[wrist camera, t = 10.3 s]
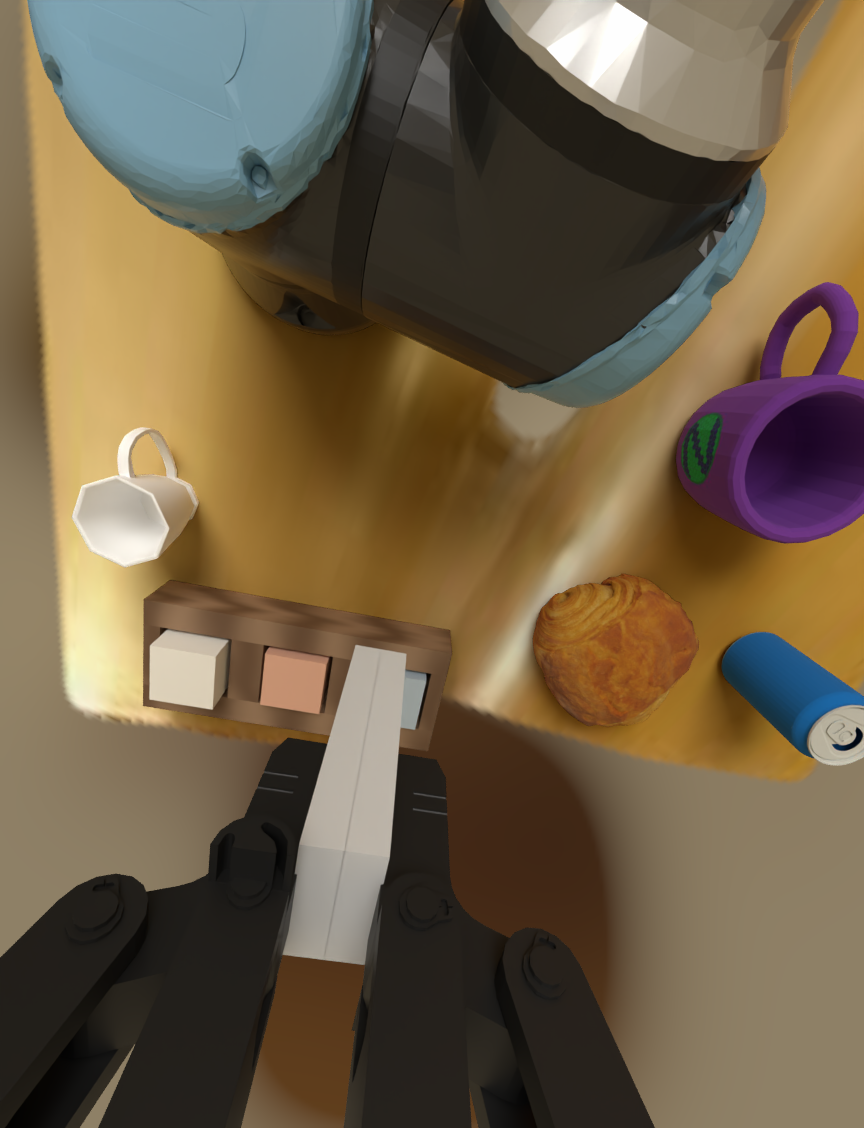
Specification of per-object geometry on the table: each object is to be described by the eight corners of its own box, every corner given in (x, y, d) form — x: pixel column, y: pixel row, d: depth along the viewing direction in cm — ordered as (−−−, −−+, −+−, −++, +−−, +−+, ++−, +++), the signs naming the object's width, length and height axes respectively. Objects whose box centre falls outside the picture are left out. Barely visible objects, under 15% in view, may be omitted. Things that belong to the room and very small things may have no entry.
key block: (167, 678, 49) (143, 705, 45) (169, 580, 46) (143, 599, 42) (428, 721, 51) (427, 751, 47) (449, 630, 48) (452, 653, 44)
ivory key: (174, 671, 46) (149, 699, 42) (175, 621, 44) (149, 645, 40) (231, 681, 47) (212, 709, 43) (235, 631, 45) (215, 656, 41)
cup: (137, 532, 44) (76, 562, 37) (127, 419, 41) (59, 426, 33) (215, 541, 45) (171, 573, 37) (212, 429, 41) (163, 439, 34)
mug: (772, 517, 44) (865, 552, 35) (649, 507, 44) (710, 539, 34) (843, 304, 38) (978, 276, 29) (702, 289, 38) (793, 256, 29)
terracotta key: (274, 677, 49) (260, 704, 44) (279, 630, 47) (265, 653, 43) (328, 686, 49) (319, 714, 45) (335, 640, 47) (326, 664, 43)
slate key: (363, 692, 49) (357, 720, 45) (372, 646, 47) (366, 671, 43) (416, 701, 50) (414, 729, 45) (426, 655, 48) (426, 681, 44)
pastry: (564, 708, 54) (589, 768, 47) (507, 605, 47) (525, 658, 40) (692, 654, 51) (738, 710, 44) (650, 538, 44) (696, 581, 37)
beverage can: (742, 695, 51) (832, 783, 39) (704, 659, 49) (786, 739, 38) (795, 654, 49) (905, 734, 38) (757, 615, 48) (860, 686, 36)
